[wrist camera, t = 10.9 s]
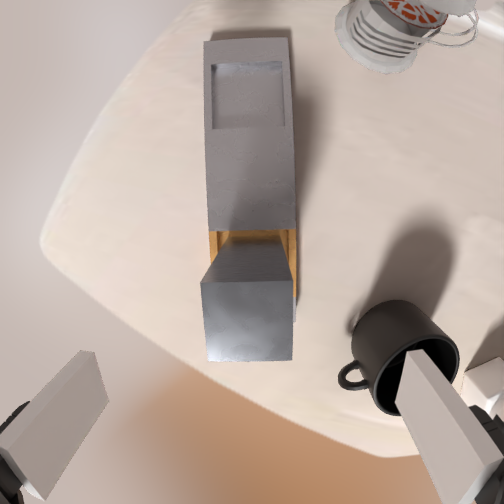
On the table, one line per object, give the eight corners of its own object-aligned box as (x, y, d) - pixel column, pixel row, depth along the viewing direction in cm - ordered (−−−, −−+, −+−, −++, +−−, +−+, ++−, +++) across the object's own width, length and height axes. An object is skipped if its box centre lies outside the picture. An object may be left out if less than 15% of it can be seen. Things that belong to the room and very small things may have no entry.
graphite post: (279, 235, 30) (293, 280, 17) (280, 284, 32) (292, 360, 18) (227, 236, 31) (200, 282, 17) (230, 286, 32) (208, 361, 18)
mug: (319, 324, 33) (336, 370, 24) (418, 286, 32) (459, 318, 23) (338, 387, 35) (354, 438, 26) (426, 352, 34) (459, 392, 25)
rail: (286, 45, 27) (287, 37, 25) (293, 314, 33) (295, 322, 31) (207, 49, 27) (203, 41, 25) (218, 315, 33) (215, 323, 31)
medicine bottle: (491, 390, 35) (528, 433, 24) (456, 406, 36) (491, 456, 24) (499, 355, 34) (543, 397, 22) (463, 371, 34) (506, 420, 23)
